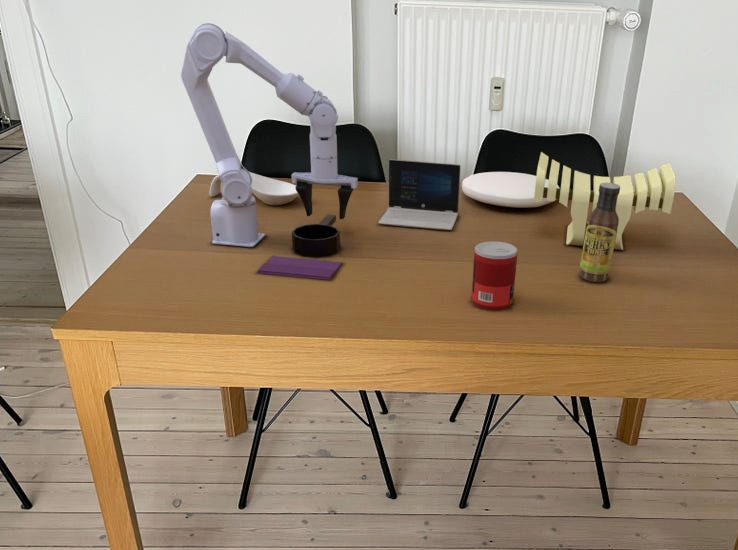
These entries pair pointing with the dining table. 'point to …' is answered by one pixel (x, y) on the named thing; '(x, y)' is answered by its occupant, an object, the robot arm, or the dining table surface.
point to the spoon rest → (264, 189)
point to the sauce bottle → (600, 235)
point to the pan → (317, 239)
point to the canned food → (494, 275)
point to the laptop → (422, 195)
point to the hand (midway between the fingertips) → (325, 216)
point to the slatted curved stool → (584, 195)
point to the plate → (503, 189)
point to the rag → (300, 268)
